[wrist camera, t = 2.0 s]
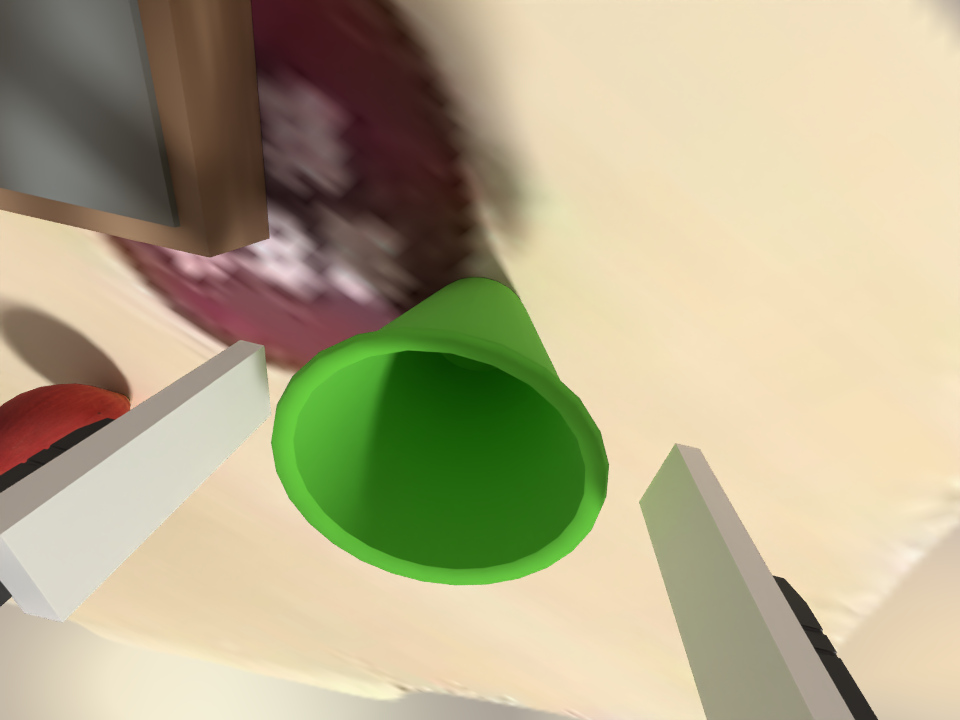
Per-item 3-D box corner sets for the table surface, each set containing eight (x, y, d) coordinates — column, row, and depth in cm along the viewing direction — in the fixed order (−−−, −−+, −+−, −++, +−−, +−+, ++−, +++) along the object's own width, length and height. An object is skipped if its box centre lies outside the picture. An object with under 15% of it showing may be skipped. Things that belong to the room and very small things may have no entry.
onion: (117, 436, 27) (-28, 536, 20) (58, 367, 24) (-133, 454, 17) (183, 427, 25) (55, 530, 18) (129, 353, 23) (-44, 440, 16)
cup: (360, 282, 19) (194, 411, 9) (524, 199, 16) (525, 260, 7) (444, 414, 23) (386, 605, 13) (590, 363, 20) (653, 555, 10)
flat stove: (-9, 174, 18) (-146, 179, 15) (-212, -323, 11) (-569, -555, 8) (269, 238, 18) (204, 259, 15) (233, -217, 12) (93, -395, 8)
